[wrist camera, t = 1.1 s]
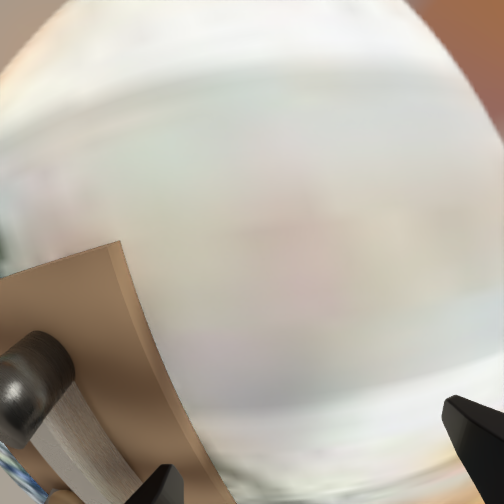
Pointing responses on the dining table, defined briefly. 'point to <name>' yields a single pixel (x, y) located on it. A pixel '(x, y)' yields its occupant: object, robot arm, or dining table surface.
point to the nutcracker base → (107, 369)
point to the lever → (59, 421)
